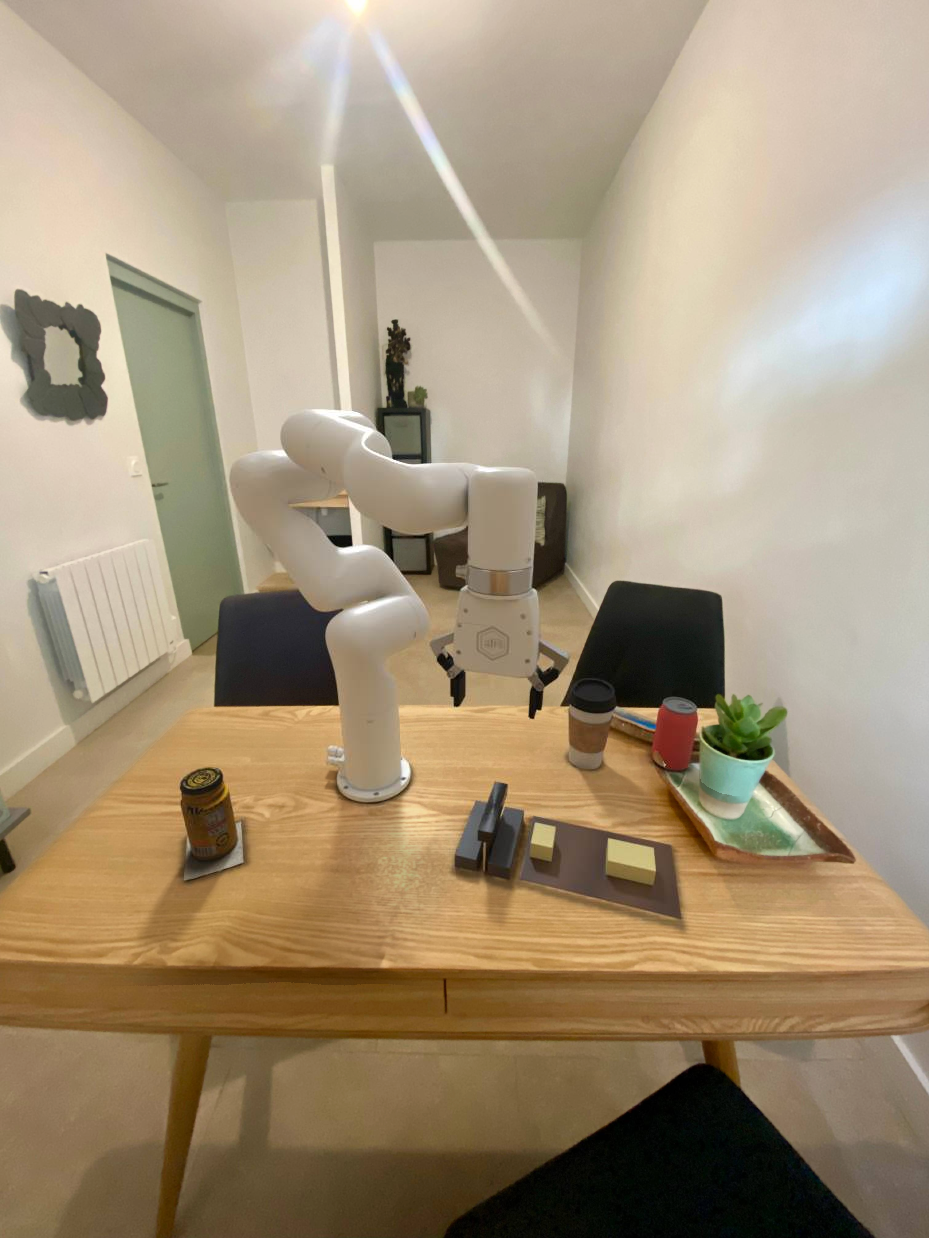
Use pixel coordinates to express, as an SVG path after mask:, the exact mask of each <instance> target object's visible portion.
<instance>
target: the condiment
mask: <svg viewBox="0 0 929 1238" xmlns="http://www.w3.org/2000/svg"><path fill="white" fill-rule="evenodd" d="M179 791H180V795H181V800H180V809H181V813H182V817H183V822H184V827H185V830H186V834H187V837H186V847H185V859H184V870H183V871H184V872H183V882H184V881H188V880H193V879H196V878H201V877H202V876H207V875H210V874H213V873H216V872H221V871H222V870H225V869H228V868H232V867H235V866H238V865H240V864H243V863H244V851H243V849H244V848H243V830H242V821H238V822H236V819H235V813H234V808H233V805H232V798H231V794H230V789H229V786H228V785H227V784H226V782H225V778H224V774H223V772H222V770H221V769H219V768H218V767H212V766H207V767H206V766H205V767H201V768H197V769H195V770H193V771H191V772H188V773H187V774H186V775H185V776H184V777H183V778H182V779H181V781H180V782H179Z"/></svg>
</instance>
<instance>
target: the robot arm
mask: <svg viewBox="0 0 929 1238" xmlns="http://www.w3.org/2000/svg"><path fill="white" fill-rule="evenodd" d="M279 433H280V434H279V435H280V436H279V439H280V444H281V447H282V448H281V449H266V450H258V451H253V452H249V453H246V454H243V455H241V456H240V457H239V458H236V460H235V461H234V462H233V463H232V465H231V467H230V470H229V476H228V478H229V480H228V481H229V488H230V492H231V496H232V499H233V502H234V504H235V506H236V509H237V511H238V513H239V514H240V517H241V518H242V520H243V521H244V522H245V523H246V525H247V526H248V528H249V529H250V530H251V531H252V532H253V533H254V534H255V535H256V536H257V537H258V538H259V539H260V540H261V541H262V542H263V543H264V544H265V546H267V547H268V548H269V549H270V550H271V551H272V552H273V554H274V555H275V557H276V558H277V559H278V561H279V563H280V565H281V566H282V568H283V569H284V570H285V572H286V573H287V575H288V576H289V578H290V579H291V581H292V582H293V583H294V585H295V587H296V589H298V590H299V593H300V594H301V595H302V596H303V598H304V599H305V601H306V602H307V603H308V605H310V606H311V607H312V608H313V609H314V610H316V611H318V612H321V613H328V612H333V611H338V610H342V609H344V610H342V611H340V612H338V613H337V614H336V615H334V616H333V617H332V618H331V619H330V620H329V622H328V624H327V626H326V628H325V635H324V637H325V644H326V648H327V651H328V654H329V657H330V661H331V665H332V668H333V671H334V676H335V677H334V678H335V682H336V689H337V699H338V700H337V701H338V706H339V716H340V717H339V719H340V727H341V728H340V729H341V738H342V747H341V746H336V745H329V746H328V748H327V750H326V755H327V756H328V757H327V758H326V760H325V761H326V762H325V764H326V765H329V766H335V767H337V768H338V769H339V770H338V772H337V775H336V783H337V788H338V790H339V792H340V793H341V794H342V795H343V796H344V797H346V798H348V799H350V800H351V801H354V802H360V803H377V802H382V801H386V800H388V799H392V798H393V797H395V796H397V795H398V794H400V793H401V792H402V791H403V790H404V789H406V787H407V786H408V784H409V783H410V780H411V776H412V773H411V766H410V763H409V762H408V760H407V759H405V757H403V756H402V750H401V749H402V746H401V745H402V744H401V727H400V725H401V724H400V706H399V705H400V704H399V690H398V683H397V681H396V678H395V677H394V675H393V674H392V673H391V672H390V671H389V669H387V667H386V662H387V661H388V660H389V659H391V658H394V657H395V656H397V655H399V654H402V653H404V652H406V651H408V650H410V649H411V648H414V647H416V646H418V645H420V644H421V643H423V641H424V640H425V639H426V638H427V637H428V635H429V633H430V628H431V620H430V615H429V613H428V610H427V608H426V605H425V604H424V602H423V600H422V599H421V598H420V596H419V595H418V594H417V592H416V591H415V590H414V588H413V587H412V586H411V584H410V583H409V581H408V580H407V579H406V577H405V576H404V575H403V573H402V572H401V571H400V569H399V568H398V566H397V565H396V564H395V562H394V561H393V560H392V559H391V558H390V556H389V555H388V554H387V553H386V552H385V551H384V550H382V549H380V548H379V547H377V546H374V545H372V544H356V545H350V546H346V547H340V546H336V545H335V544H334V543H333V542H332V541H331V540H330V539H329V537H328V536H327V535H326V533H325V532H324V530H323V529H322V528H321V526H320V525H319V524H317V522H315V521H314V520H313V519H311V518H310V517H309V516H307V515H305V513H302V512H300V511H298V510H296V508H293V507H292V506H291V505H297V504H298V505H299V504H306V503H317V502H324V501H328V500H331V499H335V497H337V496H338V495H340V494H341V493H342V492H343V491H345V493H346V495H347V497H348V500H349V501H350V503H351V504H352V505H353V507H354V508H355V510H356V511H357V512H358V513H359V514H361V515H362V516H364V517H365V518H367V519H369V520H371V521H373V522H374V523H377V524H379V525H381V526H383V527H385V528H387V529H390V530H391V531H395V532H397V533H402V534H405V535H413V536H418V535H425V534H431V533H435V532H440V531H444V530H449V529H456V528H461V527H466V526H467V562H466V563H465V564H463V565H456V568H455V577H458V578H462V579H464V581H465V585H464V586H463V587H461V588H460V590H459V593H458V599H457V604H456V605H457V606H456V611H455V612H456V613H455V621H454V629H453V630H450V631H447V632H445V633H443V634H440V635H438V636H435V637H433V638H432V639H431V640H430V641H429V647H430V648H431V652H432V653H433V655H434V656H435V658H436V663H438V665H439V666H440V667H441V668H442V669H443V670H444V671H445V673H446V676H447V678H449V684H450V685H449V688H450V689H449V696H450V697H451V698H453V707H455V708H459V707H460V706H461V705H462V703H463V701H464V700H465V698H466V692H467V691H466V689H467V685H466V683H467V681H466V680H467V672H472V673H477V674H485V675H492V676H499V677H506V678H516V679H527V680H528V681H529V683H530V684H531V688H530V690H529V699H528V712H527V713H528V715H527V717H528V718H529V719H530V720H535V717H536V714H537V711H541V712H542V709H543V704H544V690H545V688H546V687H547V686H549V685H551V684H552V683H553V682H555V681H556V680H558V678H559V676H560V675H561V674H562V672H563V671H564V670H565V668H566V667H567V666H568V665H569V662H570V658H571V657H570V654H569V653H567V652H566V651H564V650H562V649H561V648H559V647H558V646H555V645H554V644H552V643H551V642H549V641H548V640H546V639H544V638H543V637H541V613H540V612H541V611H540V602H539V595H538V591H537V589H535V588H533V579H534V576H533V575H534V559H535V542H536V528H537V527H536V525H537V507H538V488H539V487H538V486H539V485H538V484H539V483H538V477H537V475H536V474H535V472H534V471H533V470H531V469H529V468H527V467H525V468H524V467H520V466H484V465H479V464H476V463H471V462H432V463H431V462H430V463H429V462H428V463H418V464H412V463H405V462H401V461H398V460H395V459H393V451H392V447H391V445H390V443H389V441H388V439H387V438H386V436H384V435H383V433H381V432H380V431H378V430H377V427H376V426H375V425H374V423H373V422H372V421H371V419H369V418H368V417H367V416H365V415H364V414H361V413H360V412H356V411H351V410H350V411H349V410H348V411H347V410H335V409H320V408H319V409H318V408H308V409H302V410H298V411H296V412H294V413H292V414H290V415H289V416H288V417H287V418H285V421H284V422H283V424H282V426H281V429H280V432H279ZM345 608H346V609H345ZM451 644H452V655H451V654H450V653H449V652H448V651H447V648H446V646H449V645H451ZM540 654H542V655H543V656H545V657H547V658H548V659H550V660H552V661H553V664H552V665H551V666H549V667H548V668H547V669H545V670H544V669H543V668H542V667H541V665H540V664H539V663H538V661H539V659H540Z"/></svg>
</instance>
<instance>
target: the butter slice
mask: <svg viewBox="0 0 929 1238" xmlns="http://www.w3.org/2000/svg"><path fill="white" fill-rule="evenodd" d="M555 831H556V827H554V826H549V825H545V824H540V823H536V822H535V825H534V830H533V835H532V839H531V847H530V857H533V858H538V859H542V860H546V861H550V862H551V861H552V854H553V848H554V841H555Z"/></svg>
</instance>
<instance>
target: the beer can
mask: <svg viewBox="0 0 929 1238" xmlns="http://www.w3.org/2000/svg"><path fill="white" fill-rule="evenodd" d="M698 714H699V713H698V707H697V705H696V704H695V703H694V702H692V701H691V700H689V699H687V698H684V697H678V696H670V697H666V698H664V699H663V700H662V704H661V705H660V706H659V708H658V711H657V716H656V723H655V729H654V732H653V740H652V745H651V752H650V758H651V759H652V761H653V762H654V758H653V752H654V751H655V750H656V751H658V753H659V755H661V757H662V759H663V761H664V763H665V764H666V766H665V768H664V770H667V771H673V772H679V771H680V772H681V771H684V770H685V769H688V768H689V765H690V762H691V758H692V753H693V748H694V742H695V738H696V734H697V728H698V724H699V715H698Z"/></svg>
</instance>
